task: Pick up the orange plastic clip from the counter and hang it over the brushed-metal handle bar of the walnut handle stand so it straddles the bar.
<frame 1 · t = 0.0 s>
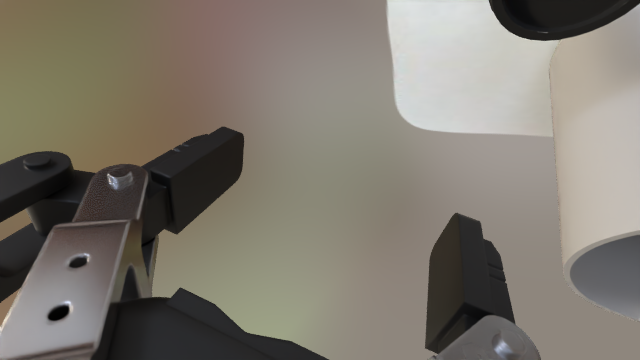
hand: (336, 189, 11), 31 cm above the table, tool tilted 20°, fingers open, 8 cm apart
cylinder vase: (627, 50, 30), on the table
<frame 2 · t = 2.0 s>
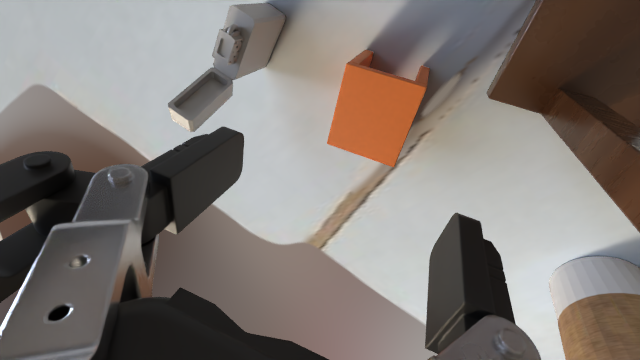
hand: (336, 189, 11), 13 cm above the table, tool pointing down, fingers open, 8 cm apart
coffee cup: (594, 282, 23), on the table
clip: (384, 94, 21), on the table
lighter: (259, 54, 23), on the table
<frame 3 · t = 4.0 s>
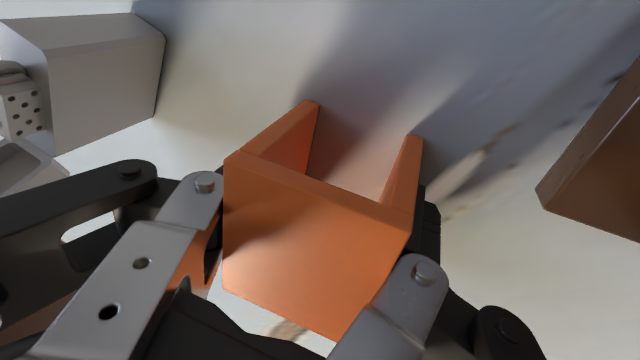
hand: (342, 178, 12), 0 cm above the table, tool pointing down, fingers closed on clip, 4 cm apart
clip: (345, 175, 12), on the table, touching gripper
lighter: (141, 97, 14), on the table
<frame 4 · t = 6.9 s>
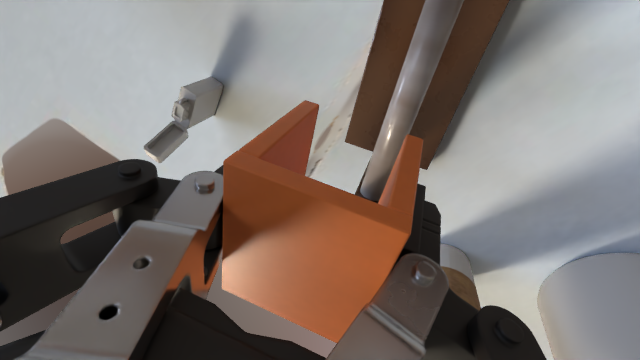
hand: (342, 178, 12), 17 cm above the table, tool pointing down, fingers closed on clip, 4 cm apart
handle stand: (418, 66, 24), on the table
coffee cup: (440, 262, 33), on the table
clip: (344, 175, 12), point 17 cm above the table, touching gripper
lighter: (210, 107, 33), on the table
cylinder vase: (612, 296, 29), on the table
when the fingers open (7 cm above the table, at t = 9.8 s): clip stays where it is, resting on handle stand.
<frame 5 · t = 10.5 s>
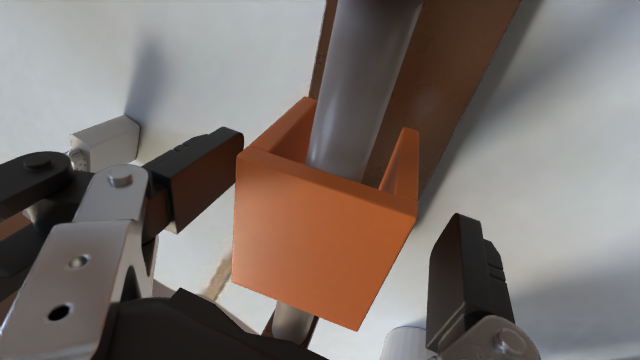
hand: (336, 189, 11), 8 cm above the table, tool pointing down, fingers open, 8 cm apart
handle stand: (376, 118, 17), on the table
coffee cup: (418, 346, 27), on the table
clip: (343, 168, 12), point 6 cm above the table, touching handle stand
lighter: (130, 149, 27), on the table
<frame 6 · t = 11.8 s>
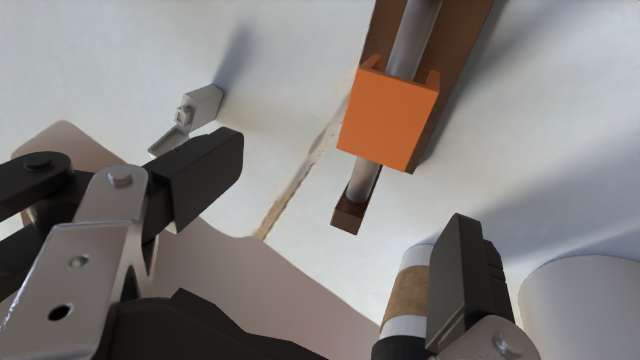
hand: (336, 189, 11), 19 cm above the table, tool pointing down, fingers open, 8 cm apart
handle stand: (403, 78, 26), on the table
coffee cup: (428, 262, 35), on the table
clip: (393, 99, 21), point 6 cm above the table, touching handle stand
lighter: (210, 112, 35), on the table
cylinder vase: (588, 296, 30), on the table
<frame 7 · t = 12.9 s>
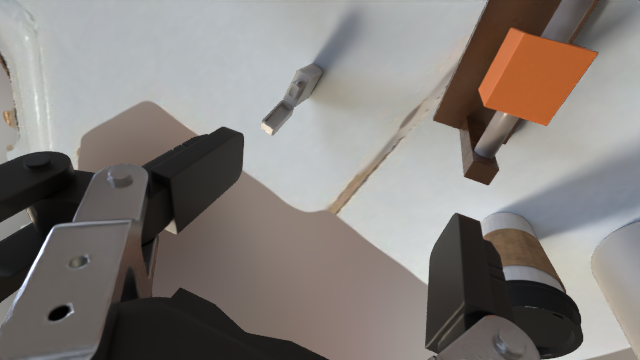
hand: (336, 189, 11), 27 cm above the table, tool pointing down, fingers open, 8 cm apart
handle stand: (507, 55, 29), on the table
coffee cup: (503, 229, 38), on the table
clip: (521, 68, 24), point 6 cm above the table, touching handle stand
lighter: (305, 90, 38), on the table
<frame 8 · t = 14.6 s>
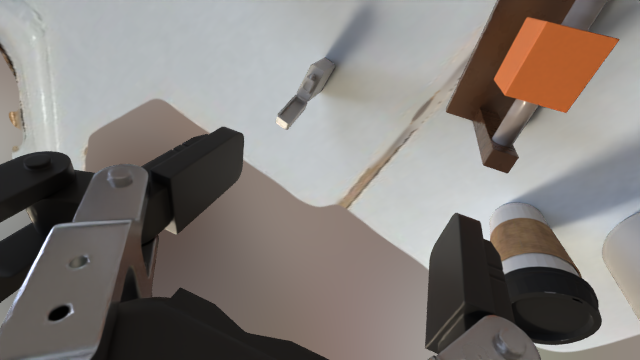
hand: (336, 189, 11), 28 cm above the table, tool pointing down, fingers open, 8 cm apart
handle stand: (521, 46, 29), on the table
coffee cup: (514, 220, 39), on the table
clip: (536, 57, 24), point 6 cm above the table, touching handle stand
lighter: (317, 85, 39), on the table
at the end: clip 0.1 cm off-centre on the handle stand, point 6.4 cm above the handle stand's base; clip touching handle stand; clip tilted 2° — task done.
